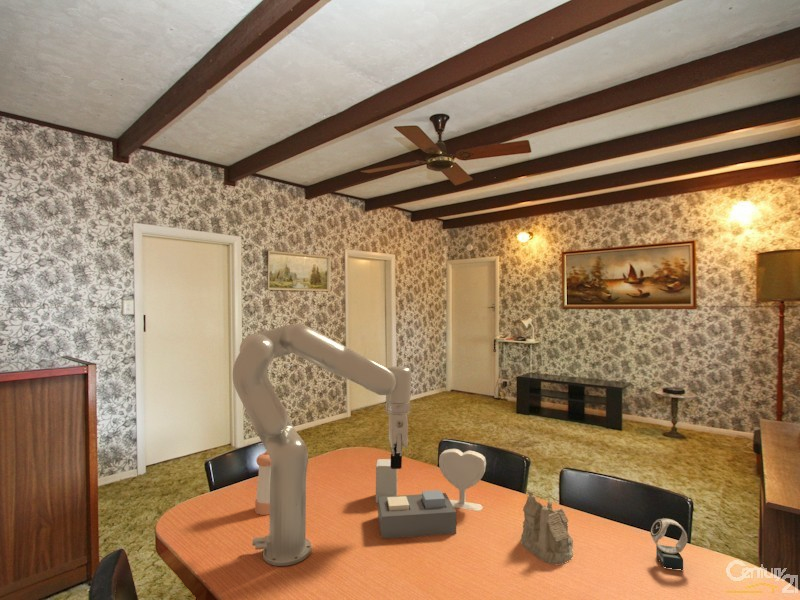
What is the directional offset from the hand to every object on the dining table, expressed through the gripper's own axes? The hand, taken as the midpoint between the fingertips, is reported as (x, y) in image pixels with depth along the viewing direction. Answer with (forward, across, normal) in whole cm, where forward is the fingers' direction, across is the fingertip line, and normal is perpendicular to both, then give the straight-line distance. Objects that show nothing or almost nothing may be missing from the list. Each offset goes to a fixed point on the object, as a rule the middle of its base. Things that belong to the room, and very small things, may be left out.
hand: (395, 467), depth 127 cm
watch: (+16, -28, -69) cm, 76 cm away
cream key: (+15, 0, -1) cm, 15 cm away
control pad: (+18, 0, -7) cm, 19 cm away
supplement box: (+18, +19, 0) cm, 26 cm away
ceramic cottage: (+17, -16, -42) cm, 48 cm away
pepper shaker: (+19, +16, +40) cm, 47 cm away
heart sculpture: (+17, +11, -25) cm, 32 cm away
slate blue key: (+14, 0, -12) cm, 18 cm away
